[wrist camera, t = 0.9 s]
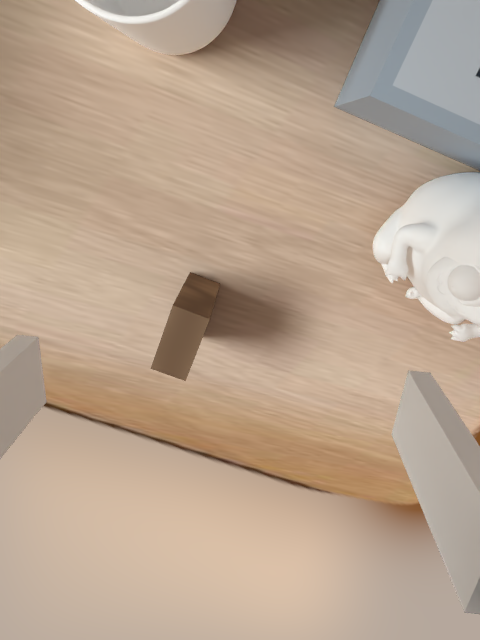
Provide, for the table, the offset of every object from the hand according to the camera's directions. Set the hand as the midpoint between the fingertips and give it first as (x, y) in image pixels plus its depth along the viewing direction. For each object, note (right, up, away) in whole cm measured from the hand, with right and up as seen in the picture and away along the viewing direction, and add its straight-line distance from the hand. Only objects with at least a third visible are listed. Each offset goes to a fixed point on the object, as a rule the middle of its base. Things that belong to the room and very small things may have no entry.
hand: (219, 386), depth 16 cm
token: (-3, +4, +20) cm, 20 cm away
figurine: (+16, +9, +16) cm, 24 cm away
